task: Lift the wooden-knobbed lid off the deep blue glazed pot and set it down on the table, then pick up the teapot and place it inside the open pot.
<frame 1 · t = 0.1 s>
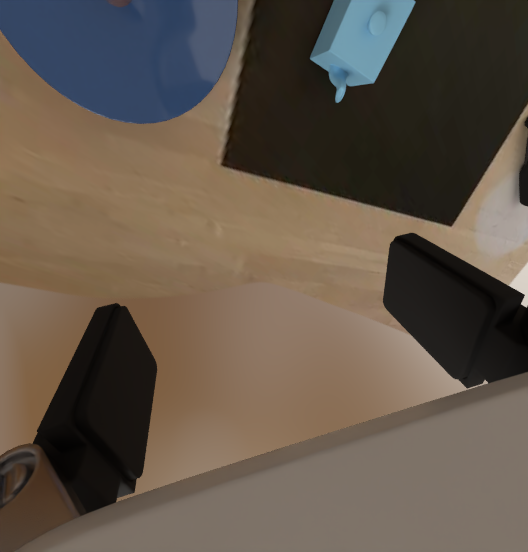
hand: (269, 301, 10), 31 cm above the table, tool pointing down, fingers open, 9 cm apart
electric trimmer: (526, 159, 46), on the table
teapot: (337, 49, 33), on the table
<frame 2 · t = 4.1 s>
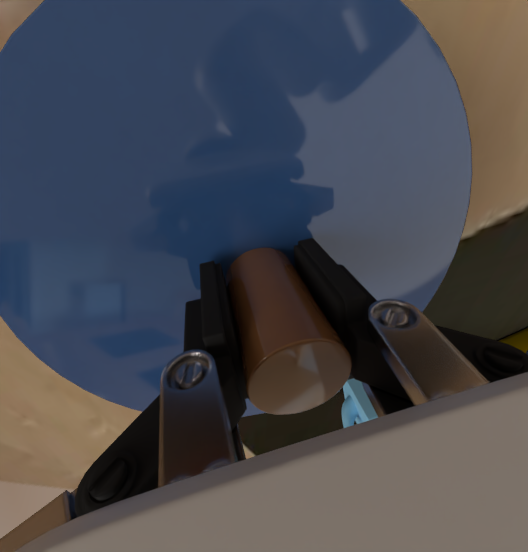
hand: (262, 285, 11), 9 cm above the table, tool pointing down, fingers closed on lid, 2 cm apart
element tile: (522, 358, 37), on the table
teapot: (360, 368, 30), on the table
lid: (257, 271, 12), point 8 cm above the table, touching gripper, pot
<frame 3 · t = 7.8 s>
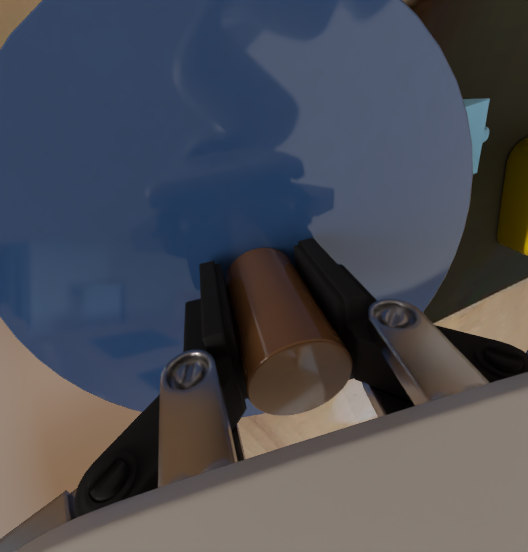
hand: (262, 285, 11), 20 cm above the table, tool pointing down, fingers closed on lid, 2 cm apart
teapot: (390, 145, 29), on the table
lid: (257, 271, 12), point 19 cm above the table, touching gripper
when the fingers open (2 cm above the table, at t = 11.9 s): lid stays where it is, point 1 cm above the table.
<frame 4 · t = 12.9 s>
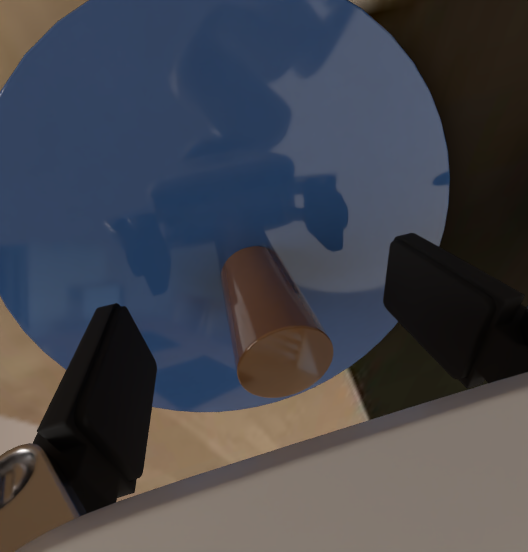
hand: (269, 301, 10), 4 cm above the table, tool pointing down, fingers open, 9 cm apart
lid: (250, 268, 12), point 1 cm above the table
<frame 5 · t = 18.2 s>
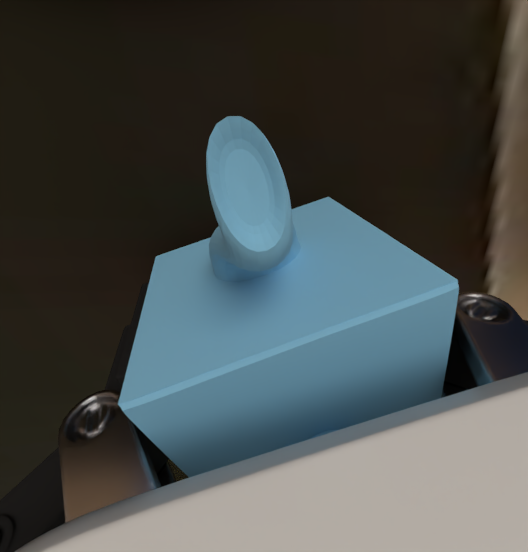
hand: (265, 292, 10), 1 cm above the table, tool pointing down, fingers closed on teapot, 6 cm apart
teapot: (257, 272, 11), on the table, touching gripper
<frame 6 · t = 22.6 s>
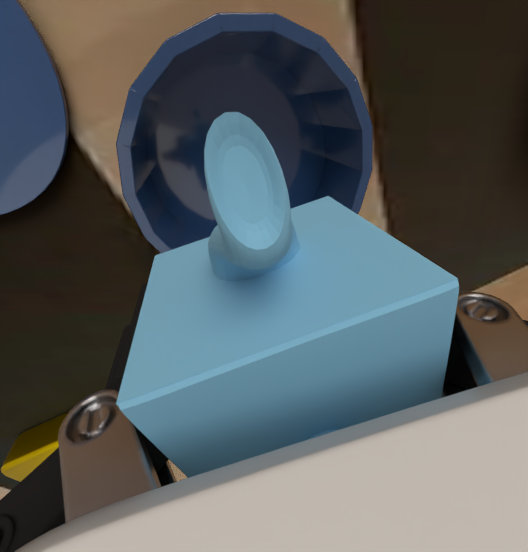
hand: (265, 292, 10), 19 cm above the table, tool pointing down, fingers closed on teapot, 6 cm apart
element tile: (99, 436, 41), on the table
pot: (241, 164, 25), on the table
teapot: (257, 271, 11), point 17 cm above the table, touching gripper
when the fingers open (2 cm above the table, at t = 27.0 s): teapot stays where it is, resting on pot.
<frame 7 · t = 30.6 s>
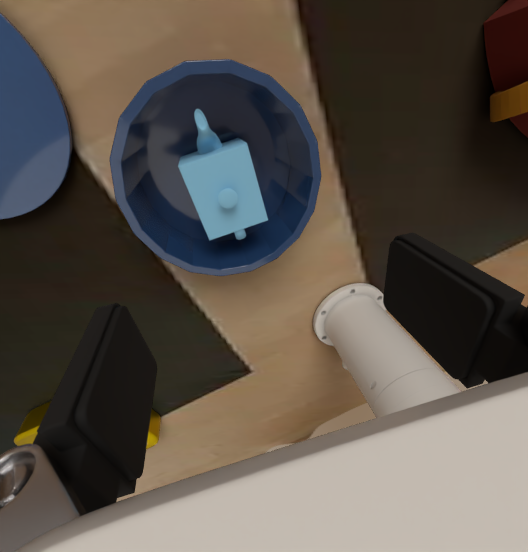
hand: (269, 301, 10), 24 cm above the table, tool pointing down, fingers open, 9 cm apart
element tile: (100, 414, 46), on the table
pot: (218, 171, 30), on the table
teapot: (217, 171, 30), resting on pot
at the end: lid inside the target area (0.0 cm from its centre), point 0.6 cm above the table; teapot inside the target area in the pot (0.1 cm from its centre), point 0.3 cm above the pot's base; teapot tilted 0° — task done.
